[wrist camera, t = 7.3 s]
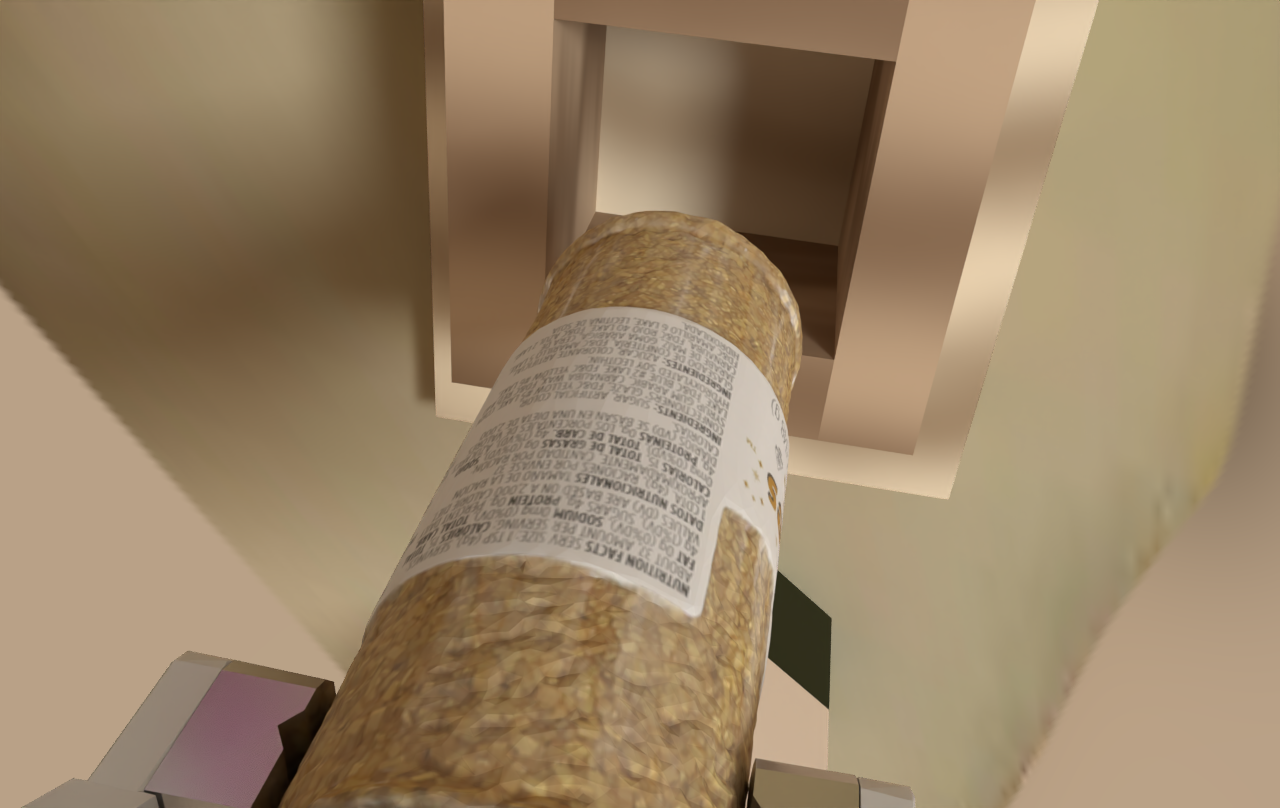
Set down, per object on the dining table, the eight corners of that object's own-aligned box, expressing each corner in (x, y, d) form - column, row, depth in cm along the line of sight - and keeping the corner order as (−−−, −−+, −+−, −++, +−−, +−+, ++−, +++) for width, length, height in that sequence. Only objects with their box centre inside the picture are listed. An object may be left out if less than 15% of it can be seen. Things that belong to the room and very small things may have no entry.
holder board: (432, -462, 24) (280, -515, 17) (1199, -397, 22) (1332, -429, 16) (450, 391, 36) (365, 538, 30) (945, 470, 34) (964, 642, 28)
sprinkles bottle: (762, 462, 20) (634, 1454, 9) (520, 394, 20) (91, 1291, 9) (842, 240, 17) (807, 1251, 6) (563, 162, 17) (31, 1022, 6)
